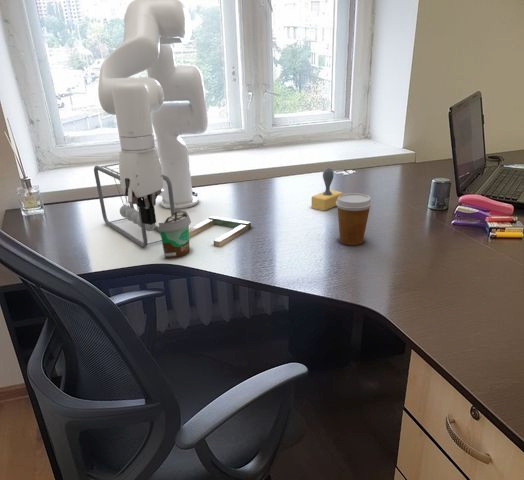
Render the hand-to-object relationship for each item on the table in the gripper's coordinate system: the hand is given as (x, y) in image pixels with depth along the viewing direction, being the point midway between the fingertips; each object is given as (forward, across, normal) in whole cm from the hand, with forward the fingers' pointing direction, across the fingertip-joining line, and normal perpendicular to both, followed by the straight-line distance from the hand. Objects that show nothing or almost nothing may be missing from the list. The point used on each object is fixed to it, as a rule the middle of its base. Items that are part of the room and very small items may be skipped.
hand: (149, 222), depth 128 cm
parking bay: (+12, -27, 0) cm, 30 cm away
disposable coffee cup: (+12, -38, +38) cm, 55 cm away
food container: (+12, -11, 0) cm, 16 cm away
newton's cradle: (+12, -20, -22) cm, 32 cm away
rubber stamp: (+11, -65, +19) cm, 69 cm away
